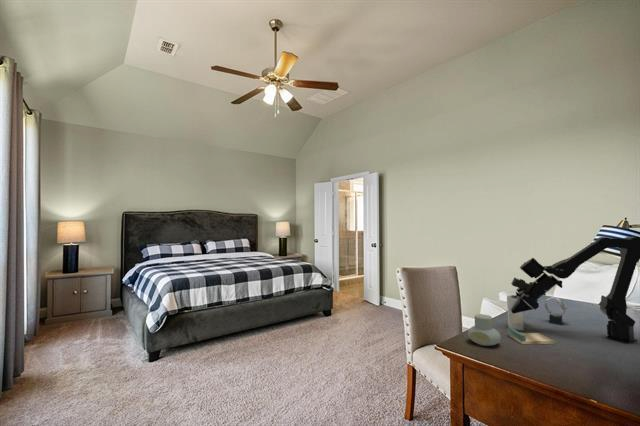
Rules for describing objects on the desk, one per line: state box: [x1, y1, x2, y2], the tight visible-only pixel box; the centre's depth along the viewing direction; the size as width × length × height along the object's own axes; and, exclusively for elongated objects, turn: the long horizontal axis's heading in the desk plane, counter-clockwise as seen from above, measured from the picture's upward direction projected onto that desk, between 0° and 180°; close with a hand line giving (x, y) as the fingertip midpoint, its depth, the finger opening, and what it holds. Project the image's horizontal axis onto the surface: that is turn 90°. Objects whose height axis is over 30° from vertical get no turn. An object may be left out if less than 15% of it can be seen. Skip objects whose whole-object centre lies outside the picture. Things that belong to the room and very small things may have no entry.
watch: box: [544, 296, 568, 326], centre depth 138 cm, size 6×8×11 cm
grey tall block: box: [506, 294, 524, 331], centre depth 132 cm, size 5×5×14 cm
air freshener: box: [467, 313, 502, 347], centre depth 115 cm, size 11×8×10 cm
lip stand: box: [506, 327, 556, 345], centre depth 118 cm, size 12×9×3 cm
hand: (511, 310), depth 133 cm, fingers open, 8 cm apart
